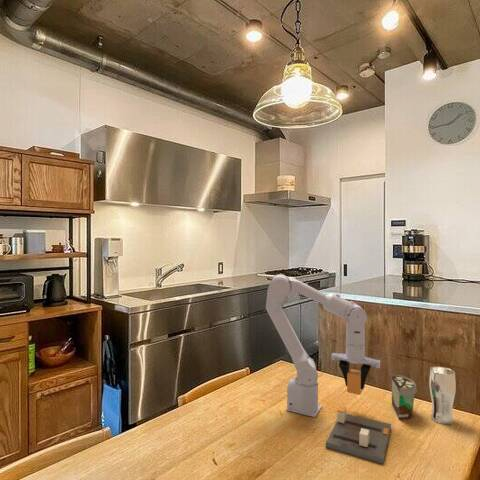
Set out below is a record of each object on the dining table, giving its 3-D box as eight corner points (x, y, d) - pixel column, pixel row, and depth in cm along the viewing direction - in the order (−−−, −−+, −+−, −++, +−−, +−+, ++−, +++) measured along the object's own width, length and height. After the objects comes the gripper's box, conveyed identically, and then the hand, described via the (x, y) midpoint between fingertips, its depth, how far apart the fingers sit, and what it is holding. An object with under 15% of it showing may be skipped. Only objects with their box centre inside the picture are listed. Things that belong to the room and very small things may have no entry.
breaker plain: (359, 445, 91) (359, 433, 91) (361, 439, 94) (361, 428, 94) (367, 447, 90) (367, 435, 90) (369, 441, 93) (369, 430, 93)
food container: (422, 424, 105) (422, 390, 105) (399, 422, 106) (400, 388, 106) (410, 404, 117) (411, 374, 117) (390, 403, 118) (391, 373, 118)
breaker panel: (325, 447, 93) (325, 441, 93) (341, 417, 109) (341, 411, 109) (382, 464, 86) (382, 457, 86) (390, 429, 102) (390, 423, 102)
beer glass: (452, 415, 110) (452, 367, 110) (458, 427, 103) (458, 376, 103) (427, 412, 112) (427, 365, 112) (431, 423, 106) (431, 373, 105)
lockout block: (347, 392, 111) (347, 373, 111) (349, 387, 114) (349, 368, 114) (360, 395, 109) (360, 375, 109) (362, 390, 113) (362, 371, 112)
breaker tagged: (337, 421, 103) (337, 410, 103) (339, 416, 106) (339, 405, 106) (344, 423, 102) (344, 411, 102) (346, 418, 105) (346, 407, 105)
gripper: (329, 343, 112) (328, 386, 112) (378, 350, 105) (377, 396, 105) (334, 337, 118) (334, 378, 118) (381, 344, 111) (380, 387, 111)
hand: (355, 386), depth 112 cm, fingers closed on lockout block, 4 cm apart
